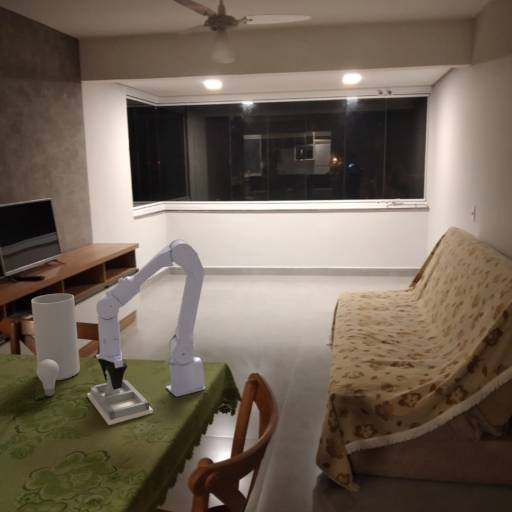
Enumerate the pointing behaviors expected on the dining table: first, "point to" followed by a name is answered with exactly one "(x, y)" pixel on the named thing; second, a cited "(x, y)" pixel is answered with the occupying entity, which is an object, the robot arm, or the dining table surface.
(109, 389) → the rook chess piece
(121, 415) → the pocket tray
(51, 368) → the lightbulb
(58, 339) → the cylinder vase
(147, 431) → the dining table surface
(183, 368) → the robot arm
